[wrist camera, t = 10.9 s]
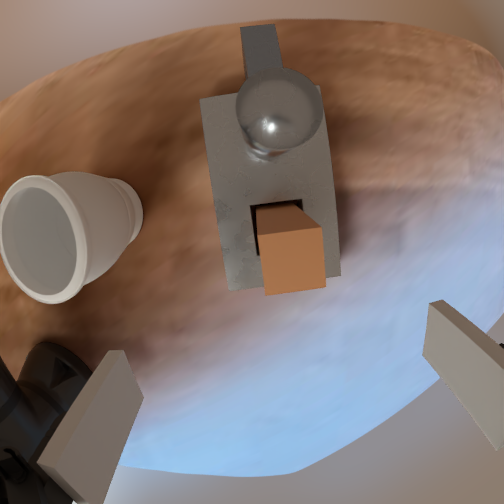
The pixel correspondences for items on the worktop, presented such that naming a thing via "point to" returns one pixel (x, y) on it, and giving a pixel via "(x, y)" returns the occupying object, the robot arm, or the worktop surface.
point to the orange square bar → (289, 249)
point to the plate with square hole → (268, 155)
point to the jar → (65, 231)
